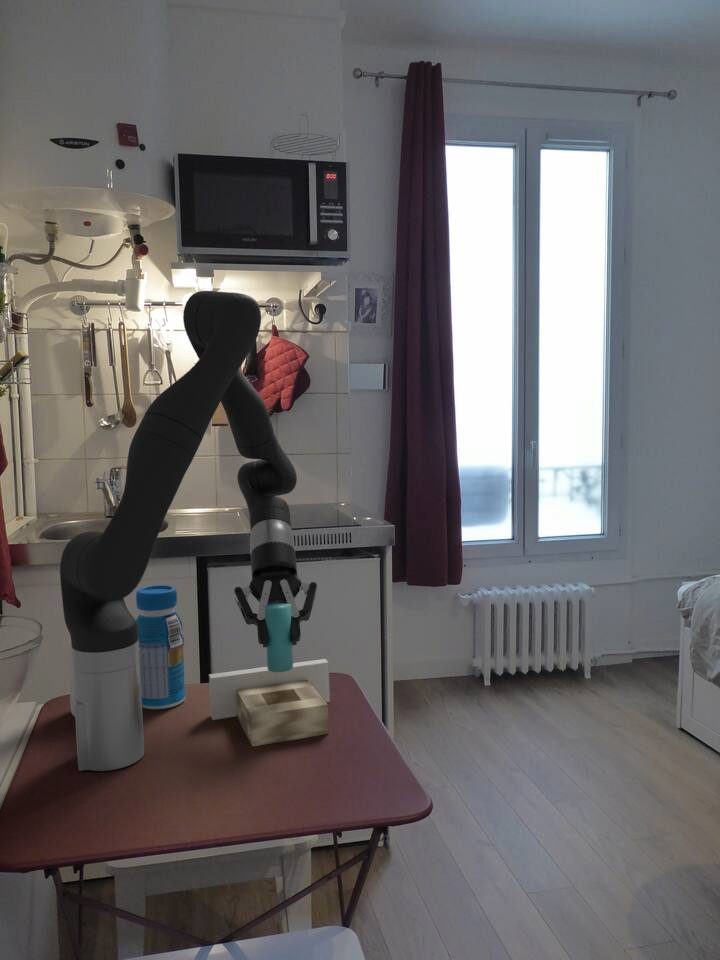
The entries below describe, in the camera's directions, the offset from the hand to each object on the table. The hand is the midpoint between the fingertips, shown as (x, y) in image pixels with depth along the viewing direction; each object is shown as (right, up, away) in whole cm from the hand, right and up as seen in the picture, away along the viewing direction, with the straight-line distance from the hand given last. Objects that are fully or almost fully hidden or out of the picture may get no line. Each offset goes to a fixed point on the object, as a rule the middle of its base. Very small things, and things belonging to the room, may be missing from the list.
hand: (280, 643), depth 123 cm
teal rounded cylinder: (0, -4, +2) cm, 5 cm away
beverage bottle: (-22, -13, +15) cm, 30 cm away
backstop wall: (-2, -13, +10) cm, 17 cm away
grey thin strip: (-32, -14, +11) cm, 37 cm away
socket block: (0, -14, +3) cm, 14 cm away
